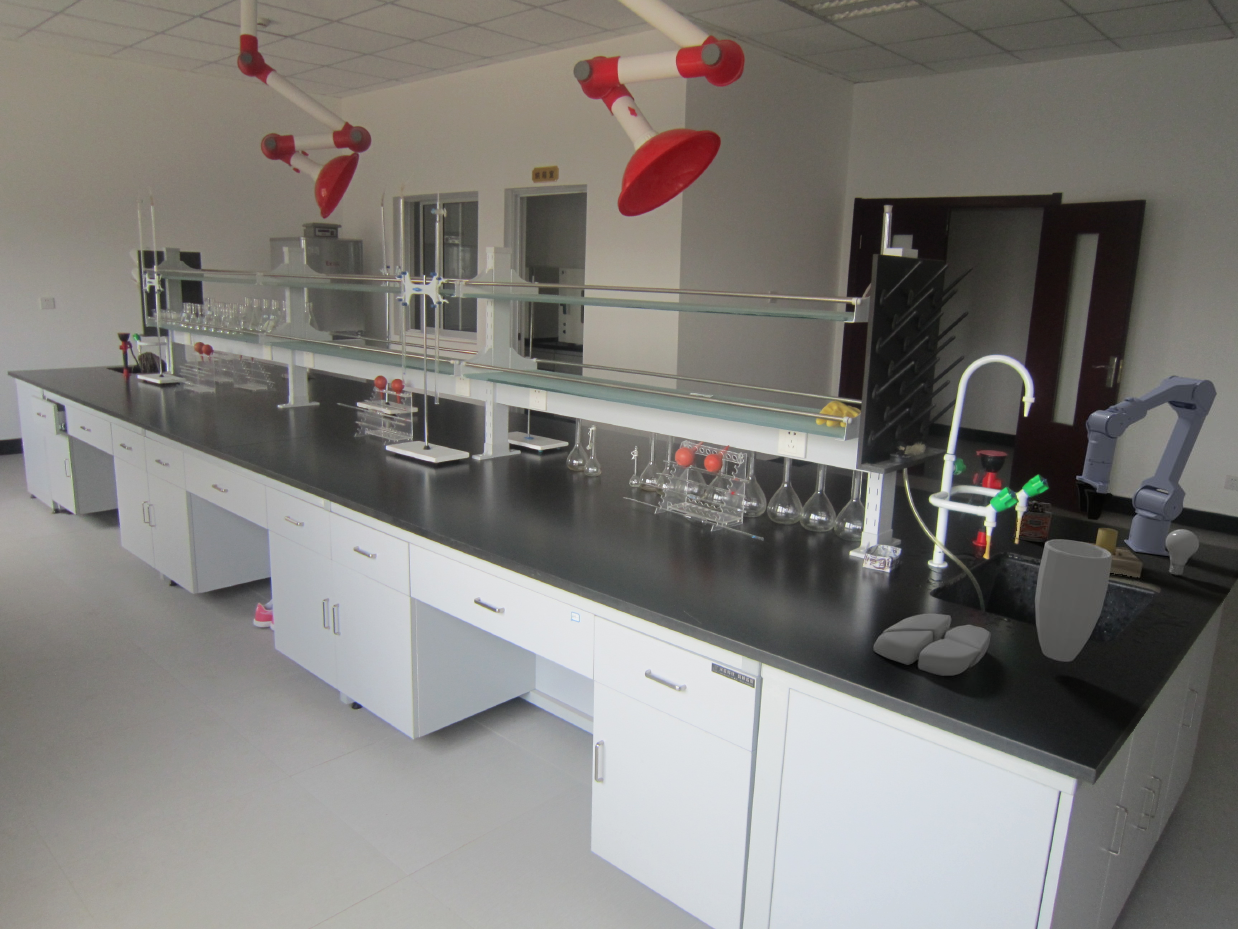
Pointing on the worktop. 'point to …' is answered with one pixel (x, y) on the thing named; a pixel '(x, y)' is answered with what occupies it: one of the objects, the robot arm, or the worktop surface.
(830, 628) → the worktop surface
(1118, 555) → the socket block
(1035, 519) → the lighter
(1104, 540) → the dowel
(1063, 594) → the cup
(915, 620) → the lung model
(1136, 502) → the robot arm
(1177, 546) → the lightbulb
